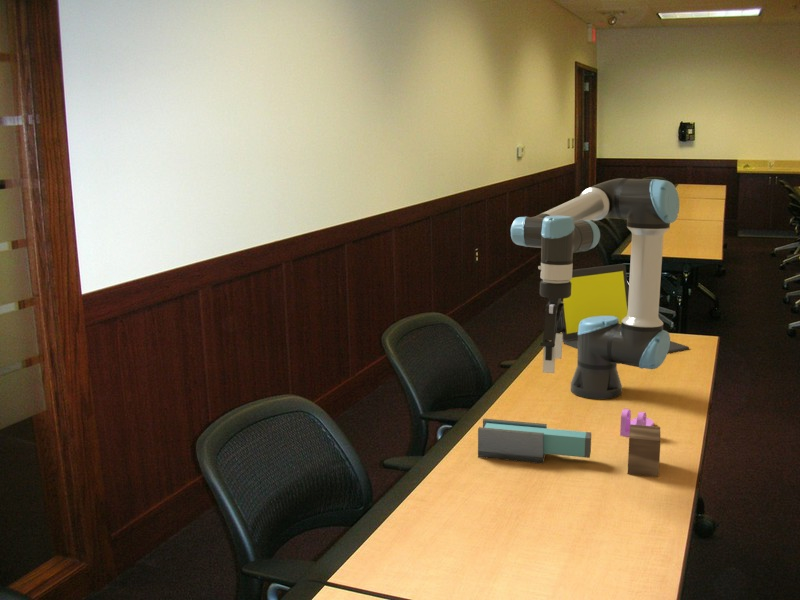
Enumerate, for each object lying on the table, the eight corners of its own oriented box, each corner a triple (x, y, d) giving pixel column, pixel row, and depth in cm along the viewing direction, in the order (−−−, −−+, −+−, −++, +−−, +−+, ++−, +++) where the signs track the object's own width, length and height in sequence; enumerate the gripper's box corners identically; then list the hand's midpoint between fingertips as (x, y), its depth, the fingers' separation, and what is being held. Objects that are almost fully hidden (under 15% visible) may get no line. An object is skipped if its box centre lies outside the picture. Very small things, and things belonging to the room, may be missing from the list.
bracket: (641, 440, 216) (642, 415, 215) (620, 436, 219) (621, 411, 218) (656, 424, 227) (657, 400, 225) (635, 420, 230) (637, 396, 228)
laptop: (617, 364, 281) (620, 288, 276) (553, 341, 312) (554, 272, 306) (689, 350, 296) (693, 278, 290) (621, 329, 327) (624, 263, 321)
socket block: (628, 458, 204) (630, 424, 202) (658, 461, 202) (660, 426, 200) (627, 473, 196) (629, 438, 194) (658, 477, 194) (660, 440, 192)
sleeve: (483, 446, 214) (483, 418, 212) (546, 452, 209) (546, 424, 208) (477, 457, 207) (478, 428, 205) (542, 463, 202) (543, 434, 201)
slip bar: (486, 441, 212) (486, 423, 210) (590, 451, 204) (591, 432, 203) (483, 447, 208) (483, 428, 207) (589, 457, 200) (590, 438, 199)
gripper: (547, 271, 213) (544, 351, 217) (532, 288, 190) (528, 377, 194) (577, 272, 211) (573, 353, 215) (565, 290, 188) (561, 380, 192)
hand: (552, 365), depth 205 cm, fingers open, 13 cm apart
